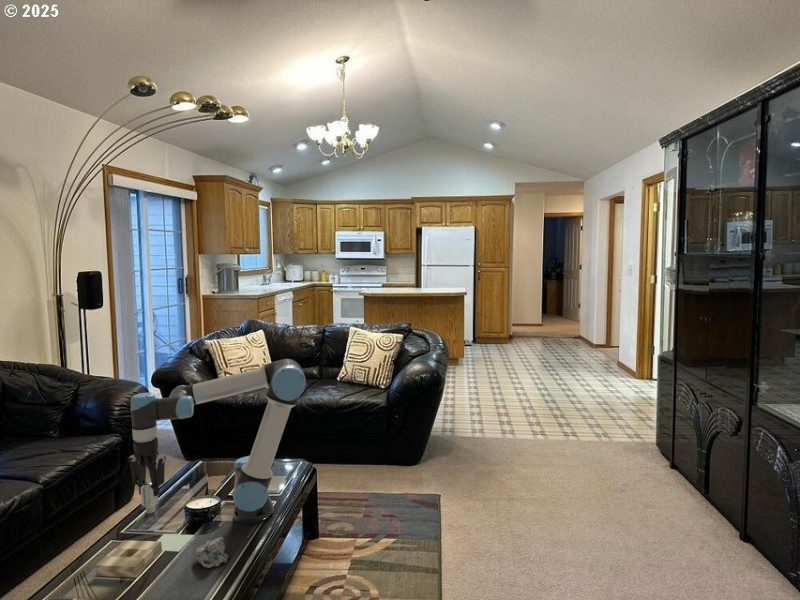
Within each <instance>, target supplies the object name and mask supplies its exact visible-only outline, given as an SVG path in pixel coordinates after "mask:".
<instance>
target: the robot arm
mask: <svg viewBox="0 0 800 600" xmlns="http://www.w3.org/2000/svg"><path fill="white" fill-rule="evenodd" d="M306 384H307V381H306V375H305V373H304V371H303V368H302V366H301V365H300V364H299V362H297V361H296V360H294V359H291V358H284V359H280V360H276V361H272V362H269V363H264V364H262V365H261V367H260V368H256V369H252V370H247V371H243V372H239V373H236V374H235V373H234V374H231V375H226V376H223V377H218V378H214V379H211V380H206V381H202V382H198V383H194V384H189V385H184V384H181V385H177V386H176V387H175V388H173V389H172V391H170V394H169V396H168V397H163V398H158V397H156V396H155V394H154V393H153V392H140V393H137V394H134V395H132V396H131V398H130V414H131V415H130V416H131V428H132V431H131V432H132V440H133V443H132V444H133V451H134V454H132V455H130V456H128V457H127V461H128V463H129V468H130V474H131V480H132V484H133V485H134V486H135V485H136V486H137V487H138V493H139V495H140V498H141V499H140V500H141V506H143V507H145V492H144V484H145V483H147V481H146V479H147V478H146V477H147V469H148V474H149V477H150V478H149V479H150V482H151V483H152V487H151V488H150V494H151V506H154V505H155V506H156V505H157V504H159V494H160V487H161V486H162V485H163V484H164V483H165V471H166V469H165V466H166V465H165V463H166V460H167V456H166V455H164V456H161V455H160V452H159V451H158V448H159V438H158V437H157V436H158V428H157V427H158V426H157V425H158V424H157V421H158V422H159V421H168V420H170V421H171V420H183V419H187V418H191V417H193V415H194V409H195V408H194V407H195V406H196V405H199V404H202V403H203V404H204V403H207V402H211V401H215V400H220V399H223V398H226V397H231V396H235V395H239V394H240V395H241V394H243V393H246V392H252V391H255V390H259V389H263V388H266V389H267V391H266V395H265V398H266V399H267V405H266V407H265V410H264V413H263V416H262V419H261V422H260V424H259V426H258V427H259V428H258V431H257V434H256V436H255V440H254V443H253V445H252V448H251V452H250V454H249V455H247V456H243V457H240V458H238V459H236V460H235V461H234V466H233V469H234V484H233V485H234V487H233V493H232V498H233V502H234V506H235V507H234V509H233V520H234V522H236V523H238V524H240V525H255V524H259V523H261V522H260V521H262V520H263V519H264V518H266V517H267V516H269V515H270V514H271V513H272V512H273V510H274V511H275V508H274V504H273V501H272V499H271V497H270V495H269V491H268V490H269V488H270V484H271V481H272V478H273V476H274V472H273V471H272V469H271V468H272V465H273V462H274V460H275V458H276V454H277V451H278V448H279V444H280V442H281V440H282V436H283V434H284V430H285V428H286V424H287V422H288V419H289V416H290V413H291V410H292V408H294V407H296V406H297V405H298V402H299V399H300V397H301V396H302V394H303V393H304V391H305V388H306ZM273 513H274V512H273ZM258 522H259V523H258ZM262 522H263V521H262Z"/></svg>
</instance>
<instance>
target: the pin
mask: <svg viewBox="0 0 800 600" xmlns="http://www.w3.org/2000/svg"><path fill="white" fill-rule="evenodd" d="M151 487H152V483H151V481H146V483H145V484H144V492H145V505H144V507H145V514H152V513H155V512H156V505H154V506H151V494H150V488H151Z"/></svg>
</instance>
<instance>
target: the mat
mask: <svg viewBox="0 0 800 600" xmlns="http://www.w3.org/2000/svg"><path fill="white" fill-rule="evenodd" d="M194 536H195V534H180V533H179V534H177V533H175V534H174V533H164V534H163V535H161V537H159V538H158V539H157V540H156V542H161V545H162V552H164V551H165V552H180V551H181V550H182V549H183V548H184V546H186V545H187V544H188V542H189V541H191V540H192V539H193V537H194Z"/></svg>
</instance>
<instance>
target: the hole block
mask: <svg viewBox="0 0 800 600" xmlns="http://www.w3.org/2000/svg"><path fill="white" fill-rule="evenodd" d="M156 541H157V540H156ZM156 541H151V540H131V539H130V540H126V539H123V541H121V543H119V544H118V545H117V546H116V547H115V548H114V549H112V550H111V551H109V553H108V554H107V555H105V556H104V557H103V558H102V559H101V560H99V561H98V562H97V563H96V564H95V573H96V575H95V576H97V577H114V578H115V577H116V578H117V577H118V578H137V577H138V576H139V575H141V574H142V573H143V571H144V570H146V568H147V567H149V566H150V565H151V564H152V562H153V561H155V559H157V557H158V556H160V555H161V553H163V551H162V545H161V542H156Z"/></svg>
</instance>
